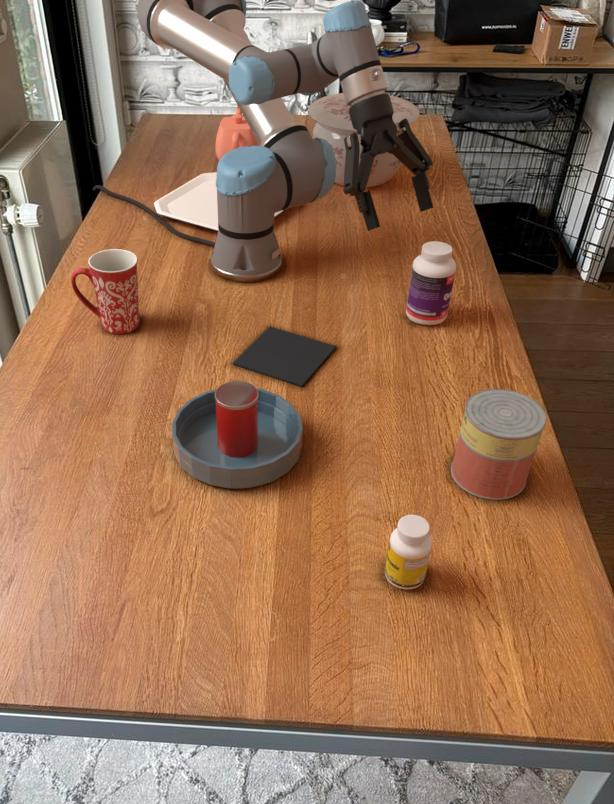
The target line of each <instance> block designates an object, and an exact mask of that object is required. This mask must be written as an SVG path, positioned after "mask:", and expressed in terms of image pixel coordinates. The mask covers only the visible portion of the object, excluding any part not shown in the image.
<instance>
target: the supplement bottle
mask: <svg viewBox="0 0 614 804" xmlns="http://www.w3.org/2000/svg"><path fill="white" fill-rule="evenodd" d="M430 529H431V527H430V523H429V522H428V520H427V519H426V518H424V517H423V516H420V515H417V514H406V515H404V516H402V517H401V518H399V520H398V522H397V527H396V528H395V529H394V530H393V531H392V532H391V534H390V537H389V540H388V541H389V542H388V549H387V554H386V561H385V565H384V566H385V567H384V575H385V578H386V580H387V581H388V583H389V584H391V585H392V586H393V587H394V588H397V589H400V590H413V589H417V588H418V587H420V586H422V584H423V583H424V581H425V579H426V575H427V570H428V566H429V562H430V557H431V553H432V546H433V540H432V537H431V534H430V531H431V530H430ZM390 579H391V580H390ZM396 583H397V584H396ZM402 585H404V586H402Z"/></svg>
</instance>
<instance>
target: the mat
mask: <svg viewBox="0 0 614 804" xmlns="http://www.w3.org/2000/svg"><path fill="white" fill-rule="evenodd" d="M335 349H337V346H336V345H334V344H330V343H326V342H324V341H320V340H317V339H313V338H310V337H307V336H304V335H301V334H297V333H293V332H290V331H286V330H283V329H280V328H276V327H273V326H268V327H267V329H266V330H265V331H264V332H263V333H261V335H259V337H257V338H256V339H255V340H254V341H253V342H252V343H251V344H250V345H249V346H248V348H246V349H245V351H243V352H242V353H241V354H240V355H239V356H238V357H237V358H236V359H235V360H234V361H233V362H232V365H233V366H235V367H239V368H242V369H246V370H247V371H248V370H249V371H252V372H255V373H257V374H261V375H264V376H268V377H270V378H274V379H277V380H280V381H282V382H286V383H289V384H292V385H295V386H298V387H301V388H302V387H304V385H306V383H307V382H308V381H309V380H310V378H311V377H312V376H313V375H314V374H315V373H316V371H318V369H319V368H320V367H321V366H322V365H323V363H324V362H325V361H326V360H327V359H328V358H329V356H330V355H331V354H332V353H333V352H334V351H335Z"/></svg>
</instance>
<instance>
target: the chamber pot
mask: <svg viewBox="0 0 614 804" xmlns="http://www.w3.org/2000/svg"><path fill="white" fill-rule="evenodd" d="M390 99H391V103H392V106H393V110H394V114H393V116H392V119H393V121H394V123H397V122H399V121H401V120H403V119H405V118H406V119H407V120H408V122H409V125H410V126H411V125H412V124H414V123H416V122H417V120H418V119H419V118H420V116H421V113H420V109H419V108H418V107H417V106H416V105H415V104H414V103H412V102H410V101H408V100H407V99H404V98H401V97H399V96H394V95H390ZM349 109H350V106H348V105H347V104H346V101H345V97H344V94H343V92H340V93H339V92H338V93H334V94H329V95H326V96H323V97H320V98H317V99H315V100H314V101H313V102H312V103H310V104H309V105H308V107H307V114H308V115H309V116H310V117H311V119H312V120H313V121H315V123H314V124H313V127H312V138H313V139H314V138H317V137H318V138H322V139H325V140H326V141H327V142H328V143H329V144H330V145H331V147H332V149H333V152H334V155H335V159H336V178H335V182H334V184H337V185H339V186H342V187H344V172H345V158H346V148H345V143H344V138H345V137H347V136H349V135H351V134H353V133H356V134H357V130H356V129H354V128H353V125H352V122H351V118H350V115H349ZM397 136H398V135H397ZM359 146H360V153H359V163H360V160H361V158H360V154H361V151H362V146H361V145H359ZM402 165H403V163H401V162H400V161H399V160H398V159H397V158H396V157H395V156H394V155H393V154H390V153H388V152H386V153H384V154H379V155H377V156H376V157H375V158H374V161H373V164H372V168H371V172H370V175H369V179H368V182H367V186H366V189H367V188H373V187H377V186H381V185H383V184H385V183H388V182H389V181H391V179H392V178H393V177H394V175H395V174H396V173H397V171H398V170H399V169H400V167H401V166H402Z"/></svg>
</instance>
